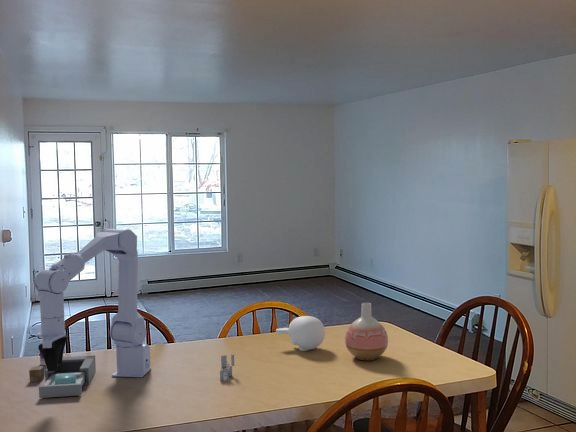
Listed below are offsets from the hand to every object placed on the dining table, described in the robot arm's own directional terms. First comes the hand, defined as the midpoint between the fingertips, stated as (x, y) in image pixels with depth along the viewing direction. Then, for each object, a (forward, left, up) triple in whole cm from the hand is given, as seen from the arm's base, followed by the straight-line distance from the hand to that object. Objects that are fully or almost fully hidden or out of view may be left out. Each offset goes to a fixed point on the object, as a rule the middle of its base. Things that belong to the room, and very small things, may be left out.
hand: (54, 367), depth 159 cm
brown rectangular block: (+15, -17, -10) cm, 25 cm away
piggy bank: (-60, -55, -10) cm, 82 cm away
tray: (+3, -11, -10) cm, 15 cm away
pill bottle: (+19, -32, -10) cm, 39 cm away
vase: (-81, -45, -10) cm, 94 cm away
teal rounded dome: (+3, -11, -8) cm, 14 cm away
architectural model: (-46, -23, -11) cm, 52 cm away
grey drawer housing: (+5, -18, -10) cm, 21 cm away
